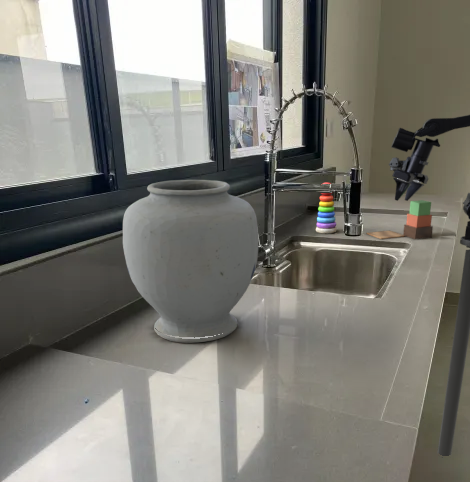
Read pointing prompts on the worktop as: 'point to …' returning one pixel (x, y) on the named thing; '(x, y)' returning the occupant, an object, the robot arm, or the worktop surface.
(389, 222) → the worktop surface
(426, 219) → the terracotta block
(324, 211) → the stacking toy
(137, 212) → the grey vase
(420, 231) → the walnut block
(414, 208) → the green block
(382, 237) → the cork coaster
